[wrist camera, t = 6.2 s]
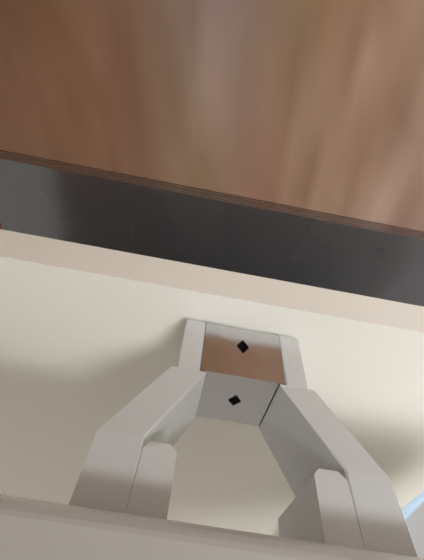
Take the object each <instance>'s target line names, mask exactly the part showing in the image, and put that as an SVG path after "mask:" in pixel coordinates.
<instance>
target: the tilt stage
mask: <svg viewBox="0 0 424 560" xmlns="http://www.w3.org/2000/svg"><path fill="white" fill-rule="evenodd" d="M187 318H188V319H193V320H197V321H202V322H205V323H206V322H209V323H214V324H219V325H224V326H229V327H234V328H239V329H246V330H252V331H258V332H264V333H270V334H276V335H283V336H289V337H295V338H296V339H297V340H298V343H299V348H300V352H301V357H302V362H303V367H304V372H305V376H306V381H307V386H308V389H310V390H314V391H315V392H316V393H317V394H318V396H319V397H320V398H321V399H322V400H323V401H324V402H325V404H326V405H327V406H328V407H329V408H330V409H331V411H332V412H333V413H334V414H335V415H336V416H337V418H338V419H339V420H340V421H341V422H342V423H343V425H344V426H345V427H346V428H347V429H348V430H349V432H350V433H351V434H352V435H353V436H354V437H355V438H356V440H357V441H358V442H359V443H360V444H361V445H362V447H363V448H364V449H365V450H366V451H367V452H368V454H369V455H370V456H371V457H372V458H373V459H374V461H375V462H376V463H377V464H378V465H379V466H380V468H381V469H382V470H383V471H384V472H385V473H386V475H387V476H388V477H389V478H390V480H391V483H392V486H393V489H394V492H395V494H396V497H397V500H398V503H399V506H400V509H401V508H402V507H404V506H405V505H406V504H407V503H409V502H410V501H411V500H413V499H414V498H415V497H416V496H418V495H419V494H420V493H422V492H423V491H424V307H423V306H418V305H412V304H407V303H401V302H396V301H390V300H385V299H379V298H374V297H368V296H363V295H358V294H352V293H347V292H341V291H336V290H330V289H325V288H319V287H314V286H308V285H303V284H297V283H292V282H287V281H281V280H276V279H270V278H265V277H259V276H254V275H248V274H243V273H237V272H232V271H226V270H221V269H216V268H210V267H205V266H199V265H194V264H188V263H183V262H177V261H172V260H166V259H161V258H155V257H150V256H145V255H139V254H134V253H128V252H123V251H117V250H112V249H106V248H101V247H95V246H90V245H84V244H79V243H74V242H68V241H63V240H57V239H52V238H46V237H41V236H35V235H30V234H24V233H19V232H13V231H8V230H3V229H0V487H1V489H2V491H3V493H4V495H8V496H15V497H22V498H28V499H35V500H41V501H48V502H55V503H61V504H68V505H69V502H70V499H71V497H72V494H73V492H74V489H75V486H76V484H77V481H78V479H79V476H80V474H81V471H82V468H83V466H84V463H85V461H86V458H87V455H88V453H89V450H90V448H91V445H92V443H93V440H94V437H95V435H96V432H97V430H98V429H99V428H101V427H102V426H103V425H104V424H105V423H106V422H107V421H109V420H110V419H111V418H112V417H113V416H114V415H115V414H117V413H118V412H119V411H120V410H121V409H122V408H124V407H125V406H126V405H127V404H128V403H129V402H130V401H132V400H133V399H134V398H135V397H136V396H137V395H138V394H140V393H141V392H142V391H143V390H144V389H145V388H146V387H148V386H149V385H150V384H151V383H152V382H153V381H154V380H156V379H157V378H158V377H159V376H160V375H161V374H162V373H164V372H165V371H166V370H167V369H168V368H169V367H170V366H175V367H177V364H178V359H179V354H180V349H181V344H182V339H183V334H184V329H185V324H186V321H187ZM173 448H174V449H175V450H176V452H177V455H176V462H175V468H174V475H173V482H172V488H171V495H170V502H169V509H168V515H167V520H174V521H181V522H187V523H194V524H200V525H207V526H214V527H220V528H227V529H233V530H240V531H247V532H253V533H260V534H267V535H273V536H279V525H278V518H279V517H280V516H281V514H282V513H283V512H284V511H285V510H286V508H287V507H288V506H289V505H290V503H291V502H292V501H293V500H294V498H295V495H294V493H293V491H292V489H291V488H290V486H289V484H288V482H287V480H286V478H285V476H284V475H283V473H282V471H281V469H280V467H279V465H278V463H277V462H276V460H275V458H274V456H273V454H272V452H271V450H270V448H269V447H268V445H267V443H266V441H265V439H264V437H263V435H262V434H261V432H260V430H259V427H257V426H252V425H247V424H241V423H236V422H231V421H225V420H218V419H211V418H203V417H196V416H195V419H194V420H193V422H192V423H191V424H190V425H189V427H188V428H187V429H186V430H185V432H184V433H183V434H182V436H181V437H180V438H179V439H178V441H177V442H176V443H175V444H174V446H173Z"/></svg>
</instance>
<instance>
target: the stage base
mask: <svg viewBox="0 0 424 560" xmlns="http://www.w3.org/2000/svg"><path fill="white" fill-rule="evenodd" d="M0 222H1V226H2V229H3V230H8V231H13V232H19V233H24V234H30V235H35V236H41V237H46V238H52V239H57V240H63V241H68V242H74V243H79V244H84V245H90V246H95V247H101V248H106V249H112V250H117V251H123V252H128V253H134V254H139V255H145V256H150V257H155V258H161V259H166V260H172V261H177V262H183V263H188V264H194V265H199V266H205V267H210V268H216V269H221V270H226V271H232V272H237V273H243V274H248V275H254V276H259V277H265V278H270V279H276V280H281V281H287V282H292V283H297V284H303V285H308V286H314V287H319V288H325V289H330V290H336V291H341V292H347V293H352V294H358V295H363V296H368V297H374V298H379V299H385V300H390V301H396V302H401V303H407V304H412V305H418V306H423V307H424V232H422V231H416V230H411V229H406V228H401V227H396V226H390V225H385V224H380V223H375V222H370V221H364V220H359V219H354V218H349V217H344V216H338V215H333V214H328V213H323V212H318V211H313V210H307V209H302V208H297V207H292V206H287V205H281V204H276V203H271V202H266V201H261V200H255V199H250V198H245V197H240V196H235V195H229V194H224V193H219V192H214V191H209V190H203V189H198V188H193V187H188V186H183V185H178V184H172V183H167V182H162V181H157V180H152V179H146V178H141V177H136V176H131V175H126V174H120V173H115V172H110V171H105V170H100V169H94V168H89V167H84V166H79V165H74V164H68V163H63V162H58V161H53V160H48V159H43V158H37V157H32V156H27V155H22V154H17V153H11V152H6V151H1V150H0Z"/></svg>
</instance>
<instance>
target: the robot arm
mask: <svg viewBox="0 0 424 560" xmlns="http://www.w3.org/2000/svg"><path fill="white" fill-rule="evenodd" d="M195 416H196V417H203V418H211V419H218V420H225V421H231V422H236V423H241V424H247V425H252V426H257V427H259V430H260V432H261V434H262V435H263V437H264V439H265V441H266V443H267V445H268V447H269V448H270V450H271V452H272V454H273V456H274V458H275V460H276V462H277V463H278V465H279V467H280V469H281V471H282V473H283V475H284V476H285V478H286V480H287V482H288V484H289V486H290V488H291V489H292V491H293V493H294V495H295V498H294V500H293V501H292V502H291V503H290V505H289V506H288V507H287V508H286V510H285V511H284V512H283V513H282V514H281V516H280V517H279V518H278V525H279V536H273V535H267V534H260V533H253V532H247V531H240V530H233V529H227V528H220V527H214V526H207V525H200V524H194V523H187V522H181V521H174V520H167V515H168V509H169V502H170V495H171V488H172V482H173V475H174V468H175V462H176V455H177V452H176V450H175V449H174V448H173V446H174V444H175V443H176V442H177V441H178V439H179V438H180V437H181V436H182V434H183V433H184V432H185V430H186V429H187V428H188V427H189V425H190V424H191V423H192V422H193V420H194V419H195ZM0 560H424V558H418V557H417V554H416V551H415V549H414V546H413V543H412V540H411V537H410V534H409V532H408V529H407V526H406V523H405V520H404V517H403V514H402V512H401V509H400V506H399V503H398V500H397V497H396V494H395V492H394V489H393V486H392V483H391V480H390V478H389V477H388V476H387V475H386V473H385V472H384V471H383V470H382V469H381V468H380V466H379V465H378V464H377V463H376V462H375V461H374V459H373V458H372V457H371V456H370V455H369V454H368V452H367V451H366V450H365V449H364V448H363V447H362V445H361V444H360V443H359V442H358V441H357V440H356V438H355V437H354V436H353V435H352V434H351V433H350V432H349V430H348V429H347V428H346V427H345V426H344V425H343V423H342V422H341V421H340V420H339V419H338V418H337V416H336V415H335V414H334V413H333V412H332V411H331V409H330V408H329V407H328V406H327V405H326V404H325V402H324V401H323V400H322V399H321V398H320V397H319V396H318V394H317V393H316V392H315V391H314V390H310V389H308V386H307V381H306V376H305V372H304V367H303V362H302V357H301V352H300V348H299V343H298V340H297V339H296V338H295V337H289V336H283V335H276V334H270V333H264V332H258V331H252V330H246V329H239V328H234V327H229V326H224V325H219V324H214V323H209V322H206V323H205V322H202V321H197V320H193V319H188V318H187V321H186V324H185V329H184V334H183V339H182V344H181V349H180V354H179V359H178V364H177V367H175V366H170V367H169V368H168V369H167V370H166V371H165V372H164V373H162V374H161V375H160V376H159V377H158V378H157V379H156V380H154V381H153V382H152V383H151V384H150V385H149V386H148V387H146V388H145V389H144V390H143V391H142V392H141V393H140V394H138V395H137V396H136V397H135V398H134V399H133V400H132V401H130V402H129V403H128V404H127V405H126V406H125V407H124V408H122V409H121V410H120V411H119V412H118V413H117V414H115V415H114V416H113V417H112V418H111V419H110V420H109V421H107V422H106V423H105V424H104V425H103V426H102V427H101V428H99V429H98V430H97V432H96V435H95V437H94V440H93V443H92V445H91V448H90V450H89V453H88V455H87V458H86V461H85V463H84V466H83V468H82V471H81V474H80V476H79V479H78V481H77V484H76V486H75V489H74V492H73V494H72V497H71V499H70V502H69V505H68V504H61V503H55V502H48V501H41V500H35V499H28V498H22V497H15V496H8V495H2V494H0Z"/></svg>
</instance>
